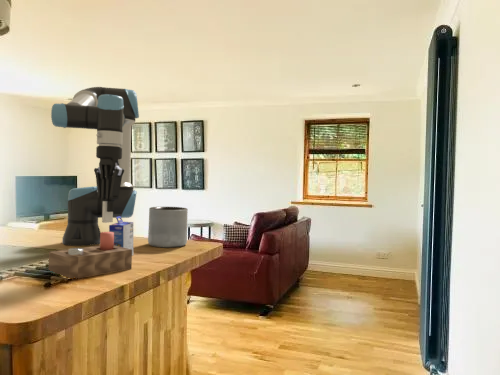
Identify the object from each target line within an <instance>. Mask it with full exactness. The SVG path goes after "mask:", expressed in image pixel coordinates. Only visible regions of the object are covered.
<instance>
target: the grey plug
mask: <svg viewBox="0 0 500 375" xmlns="http://www.w3.org/2000/svg"><path fill="white" fill-rule="evenodd" d="M83 248H84V247H73V248H71V247H70V248H68V249H69V250H68V249H67V250H68V254H70V255H77V254H83Z"/></svg>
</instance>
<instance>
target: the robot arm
mask: <svg viewBox="0 0 500 375" xmlns="http://www.w3.org/2000/svg"><path fill="white" fill-rule="evenodd" d="M139 113H140V112H139V104H138V95H137V92H136V91H135V90H133V89H128V88H119V87H118V88H117V87H107V86H106V87H103V86H92V87H88V88H84V89H82V90H79V91H77V92H76V93H75V94H74V95H73V97H72V100H70V101H69V102H68V103H63V102H61V103H54V104H52V106H51V114H50V115H51V116H50V117H51V122H52V123H51V124H53V126H54V127H59V128H63V129H66V128H68V129H69V128H70V129H85V130H86V129H87V130H96V144H97V146H96V148H95V149H96V153H95V154H96V158H97V159H99V163H98V166H97V168H96V167H95V168H94V169H93V170H94V175H95V183H96V186H95V185H94V186H85V187H83V186H82V187H76V188H75V187H74V188H72V189H70V190H69V191H68V195H67V196H68V197H67V225H66V228H65V230H64V233H63V236H62V240H61V241H62V242H61V243H62V244H63V245H66V246H75V247H76V246H77V247H79V246H80V247H81V246H82V247H83V246H84V247H85V246H86V247H88V246H94V245H95V246H97V245H100V233H101V232H102V231H101V230H100V226H99V219H100V218H101V222H102V223H105V224H107V223H108V224H109V223H113V219H116V217H118V216H120V217H121V219H128V218H131V217H133V215H134V211H135V207H136V201H137V200H136V199H137V194H138V192H137V190H136V189H134V185H133V184H132V183H131V156H132V153H131V152H132V151H131V150H132V144H131V143H132V126H133V125H134V124H135V123H136V119H139V117H140V114H139Z"/></svg>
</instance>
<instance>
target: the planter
mask: <svg viewBox="0 0 500 375" xmlns="http://www.w3.org/2000/svg"><path fill="white" fill-rule="evenodd" d="M148 212H149V213H148V233H147V234H148V235H147V243H148V244H149V245H150V246H151V247H155V248H162V249H163V248H164V249H165V248H170V249H171V248H180V247H184V246H185V245H186V244H187V243H188V208H186V207H181V206H151V207H149V210H148Z"/></svg>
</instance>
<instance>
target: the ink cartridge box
mask: <svg viewBox="0 0 500 375" xmlns="http://www.w3.org/2000/svg"><path fill="white" fill-rule="evenodd" d="M115 220H116V221H117V222H115V223H111V224H109V225H108V228H109V229H108V232H114V245H115V246H119V247H123V248H128V249H132V257H133V256H134V221H123V218H121V217H120V216H118V217H116V218H115Z"/></svg>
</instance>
